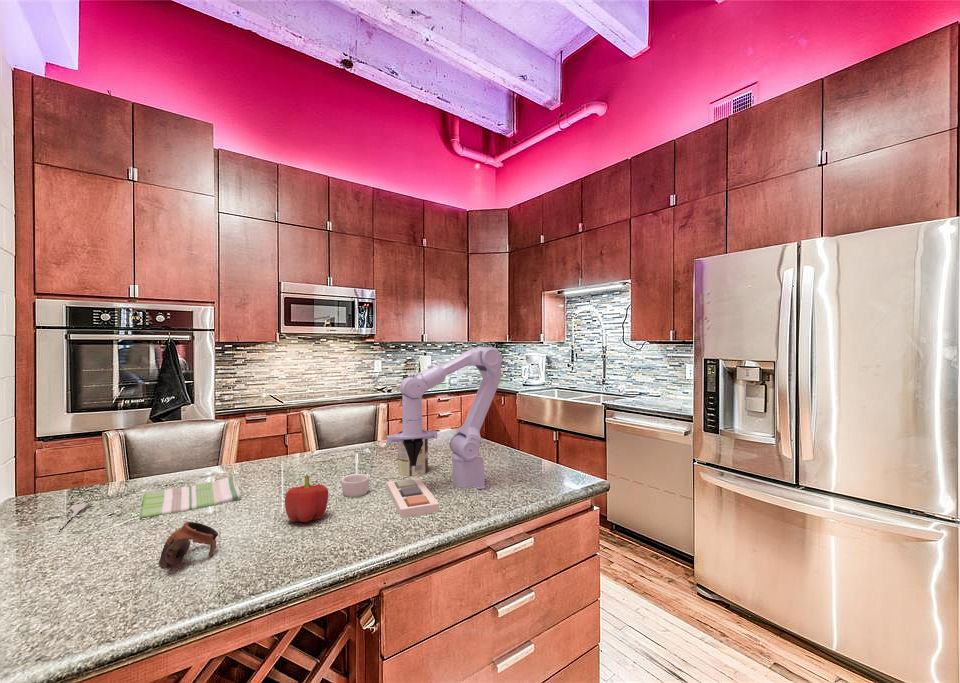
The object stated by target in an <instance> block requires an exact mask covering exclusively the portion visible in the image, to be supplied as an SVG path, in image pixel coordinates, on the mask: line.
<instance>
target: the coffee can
mask: <svg viewBox="0 0 960 683" xmlns="http://www.w3.org/2000/svg"><path fill="white" fill-rule="evenodd" d="M422 431H426V430H425V429H422ZM399 433H403V430H401V431H399V432H397V433H396V434H399ZM422 441H423V446H422V448H421V450H420V452H419V455H418V458H417V462H416V466H411V465H410V461H409V457H408V454H407V451H406V449H405V446H404V444H403V442H397V473H398V474H399V475H400V476H403V477H419V476H422V475H427V473H428V472H429V449H428V448H429V439H422Z"/></svg>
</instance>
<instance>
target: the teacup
mask: <svg viewBox="0 0 960 683" xmlns="http://www.w3.org/2000/svg"><path fill="white" fill-rule="evenodd" d="M340 483H341V490H342V495H343V496H344V497H347V498H358V497H362V496H365V495H366V494H367V492H368V491H369V485H370V477H369V475H367V474H363V473H353V474H348V475H346V476H343V477H342V478H341V482H340Z"/></svg>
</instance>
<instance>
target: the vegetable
mask: <svg viewBox="0 0 960 683" xmlns="http://www.w3.org/2000/svg"><path fill="white" fill-rule="evenodd" d="M328 502H329V490H328V488H327V487H326V486H325V485H322V484H320V483H318V484H315V485H311V484H310V477H309V474H308V475H304V485H302V486H297V487H295V486H293V487H291V488H290V489H288V490H287V492H286V493H285V496H284V508H285V512H286V515H287V517H288V519H289V520H290V521H291V522H294V523H297V522H301V523H305V522H309V521H312V520H313V521H314V520H319V519H321V518H322V517H323V516H324V514H325V512H326V510H327V507H328Z"/></svg>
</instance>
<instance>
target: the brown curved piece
mask: <svg viewBox="0 0 960 683" xmlns="http://www.w3.org/2000/svg"><path fill="white" fill-rule="evenodd" d="M218 536H219V533H218V531H217V530H216V529H214V528H213V527H210V526H209V525H206V524H203V523H200V522H196V521H187V522H184V523H183V525H182V526H181V527H180V528H179V529H176V530H175V531H174V532H172V533H171V534H170V535H169V537H168V538H167V539H166V541H165V543H164V545H163V548H162V551H161V554H160V558H159V561H158V564H159V566H160V567H161V568H162V569H165V570H166V568H167V567H169V565H170V566H171V567H175V566H176V567H177V566H180V565H182V562H183V560H184V558H185V555H187V552H188V551H189V549H190V548H191V547H190V546H191V540H192V543H196V544H205V545H209V546H210V549H209V551H208V556H209V557H212V556H213V555H214V552H215V550H216V548H217V540H216V538H217V537H218ZM167 569H168V568H167Z"/></svg>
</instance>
